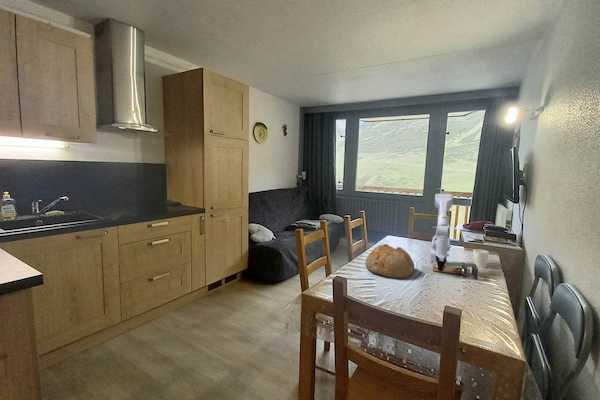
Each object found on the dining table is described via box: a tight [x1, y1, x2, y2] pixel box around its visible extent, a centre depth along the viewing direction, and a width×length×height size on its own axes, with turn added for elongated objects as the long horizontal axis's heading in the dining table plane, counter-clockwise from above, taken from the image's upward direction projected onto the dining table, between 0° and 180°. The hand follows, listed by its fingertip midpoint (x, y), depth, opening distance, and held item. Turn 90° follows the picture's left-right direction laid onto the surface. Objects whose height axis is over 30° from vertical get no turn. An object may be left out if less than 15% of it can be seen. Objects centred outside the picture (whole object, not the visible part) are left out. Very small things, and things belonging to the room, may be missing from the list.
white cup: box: [472, 248, 490, 269], centre depth 168 cm, size 8×8×10 cm
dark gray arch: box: [461, 261, 468, 278], centre depth 153 cm, size 2×9×6 cm, turn 155°
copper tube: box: [432, 264, 471, 276], centre depth 156 cm, size 18×4×4 cm, turn 65°
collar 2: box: [471, 262, 479, 281], centre depth 151 cm, size 2×9×6 cm, turn 156°
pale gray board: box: [421, 265, 482, 282], centre depth 157 cm, size 29×11×1 cm, turn 66°
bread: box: [365, 243, 415, 279], centre depth 160 cm, size 26×23×15 cm
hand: (440, 269), depth 158 cm, fingers closed on copper tube, 4 cm apart
